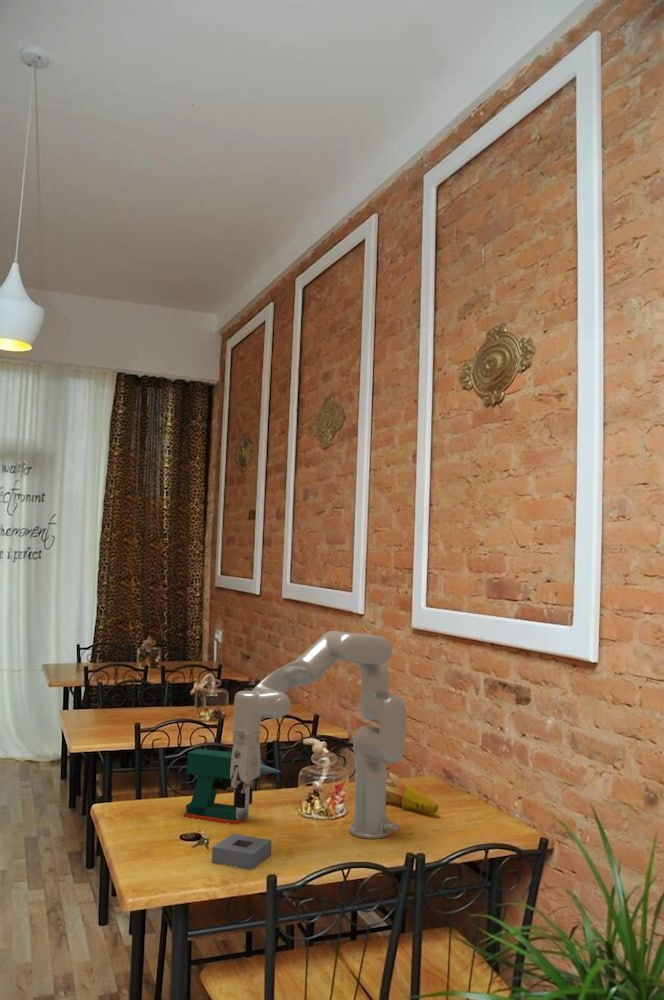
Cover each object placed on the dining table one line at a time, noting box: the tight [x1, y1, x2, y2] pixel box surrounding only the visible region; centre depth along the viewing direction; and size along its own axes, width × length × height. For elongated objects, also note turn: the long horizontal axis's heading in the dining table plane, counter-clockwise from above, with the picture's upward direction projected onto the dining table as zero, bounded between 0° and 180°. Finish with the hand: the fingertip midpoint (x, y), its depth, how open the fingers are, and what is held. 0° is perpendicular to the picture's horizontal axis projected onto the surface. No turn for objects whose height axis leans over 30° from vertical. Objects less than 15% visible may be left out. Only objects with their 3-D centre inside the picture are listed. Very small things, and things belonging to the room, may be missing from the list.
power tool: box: [183, 748, 283, 826], centre depth 250 cm, size 32×7×20 cm, turn 71°
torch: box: [386, 772, 439, 814], centre depth 268 cm, size 8×8×25 cm
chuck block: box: [211, 833, 273, 871], centre depth 218 cm, size 12×12×4 cm
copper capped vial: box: [236, 778, 251, 821], centre depth 219 cm, size 4×4×11 cm
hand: (242, 804), depth 219 cm, fingers closed on copper capped vial, 3 cm apart
